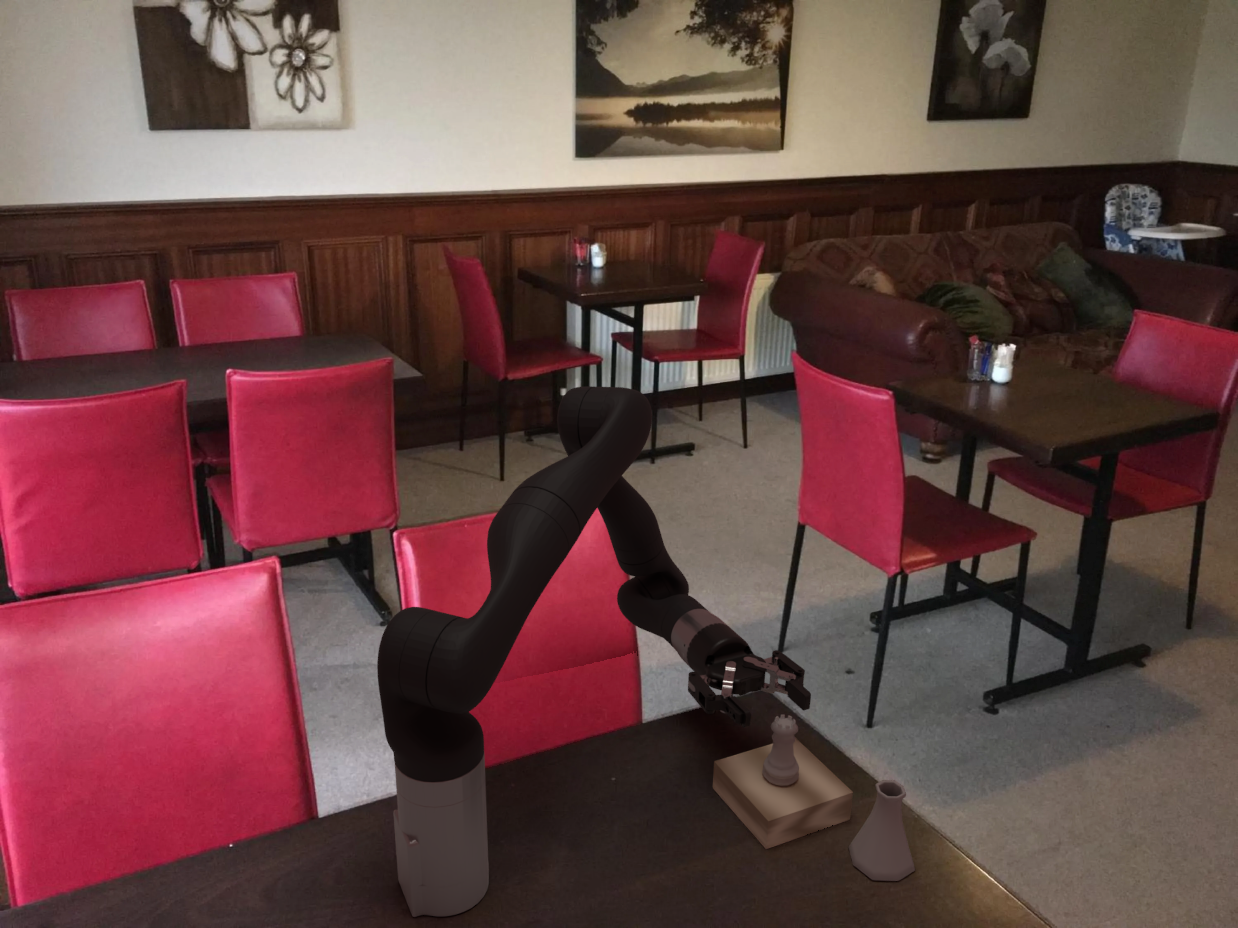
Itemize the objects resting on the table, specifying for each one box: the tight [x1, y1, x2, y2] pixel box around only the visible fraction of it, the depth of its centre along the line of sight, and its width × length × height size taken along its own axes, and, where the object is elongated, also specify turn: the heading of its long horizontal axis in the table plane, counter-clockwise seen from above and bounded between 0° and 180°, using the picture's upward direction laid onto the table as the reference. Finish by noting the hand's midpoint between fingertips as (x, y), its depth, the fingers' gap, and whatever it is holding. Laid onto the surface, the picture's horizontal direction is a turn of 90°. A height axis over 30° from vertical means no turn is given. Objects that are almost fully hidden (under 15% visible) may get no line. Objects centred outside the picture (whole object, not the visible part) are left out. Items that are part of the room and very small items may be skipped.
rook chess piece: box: [762, 713, 799, 786], centre depth 124 cm, size 4×4×8 cm
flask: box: [848, 779, 916, 882], centre depth 116 cm, size 7×7×10 cm
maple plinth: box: [712, 737, 854, 850], centre depth 126 cm, size 12×12×4 cm
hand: (778, 711), depth 124 cm, fingers open, 8 cm apart
